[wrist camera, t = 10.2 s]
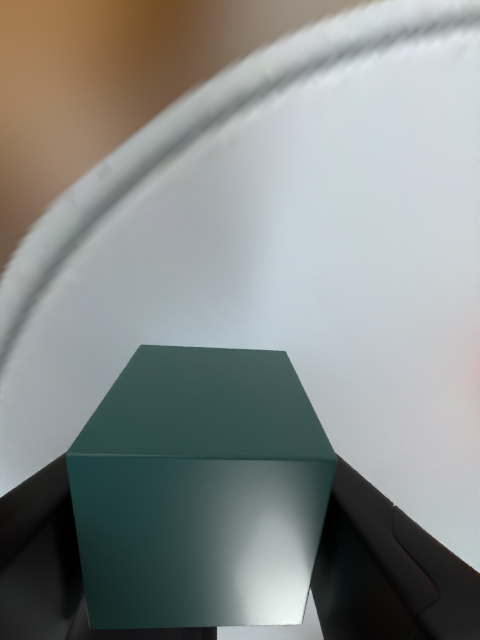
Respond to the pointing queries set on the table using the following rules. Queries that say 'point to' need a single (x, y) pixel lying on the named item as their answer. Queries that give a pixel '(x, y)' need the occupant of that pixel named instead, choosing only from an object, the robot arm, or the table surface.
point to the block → (200, 491)
